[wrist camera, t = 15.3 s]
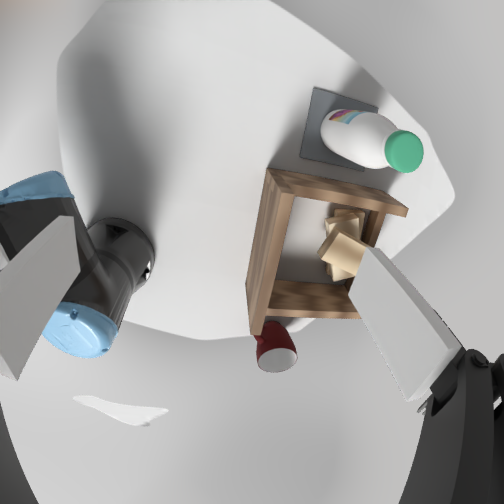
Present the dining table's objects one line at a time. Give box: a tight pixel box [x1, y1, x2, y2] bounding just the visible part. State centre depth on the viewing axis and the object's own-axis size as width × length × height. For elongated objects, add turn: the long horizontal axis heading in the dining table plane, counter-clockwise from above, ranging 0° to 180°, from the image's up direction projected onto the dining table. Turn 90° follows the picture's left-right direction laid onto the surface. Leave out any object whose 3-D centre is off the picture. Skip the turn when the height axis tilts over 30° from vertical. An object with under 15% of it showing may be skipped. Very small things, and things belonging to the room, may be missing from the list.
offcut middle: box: [325, 213, 360, 282], centre depth 50 cm, size 6×12×2 cm, turn 12°
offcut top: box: [317, 226, 371, 276], centre depth 48 cm, size 6×11×2 cm, turn 62°
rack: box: [245, 168, 409, 335], centre depth 46 cm, size 23×23×14 cm
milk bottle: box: [321, 109, 423, 173], centre depth 33 cm, size 8×8×20 cm
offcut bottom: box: [325, 209, 365, 275], centre depth 52 cm, size 6×13×2 cm, turn 179°
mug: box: [254, 321, 297, 372], centre depth 57 cm, size 10×8×10 cm
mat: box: [300, 88, 378, 172], centre depth 42 cm, size 12×12×1 cm
